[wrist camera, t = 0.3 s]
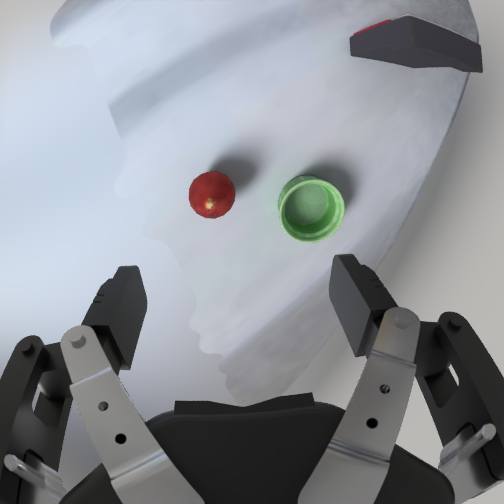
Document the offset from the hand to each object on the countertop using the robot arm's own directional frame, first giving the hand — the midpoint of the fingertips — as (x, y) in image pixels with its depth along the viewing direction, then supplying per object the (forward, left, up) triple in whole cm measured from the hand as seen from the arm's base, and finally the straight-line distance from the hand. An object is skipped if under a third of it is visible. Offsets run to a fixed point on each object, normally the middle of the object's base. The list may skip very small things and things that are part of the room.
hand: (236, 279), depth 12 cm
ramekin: (+7, +11, -29) cm, 32 cm away
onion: (+5, -2, -29) cm, 29 cm away
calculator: (-17, +21, -29) cm, 40 cm away
